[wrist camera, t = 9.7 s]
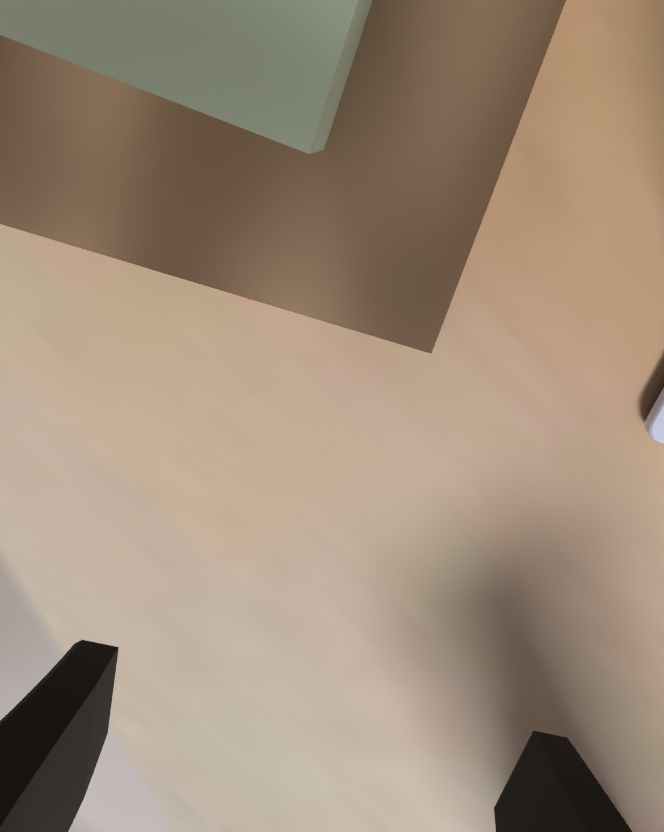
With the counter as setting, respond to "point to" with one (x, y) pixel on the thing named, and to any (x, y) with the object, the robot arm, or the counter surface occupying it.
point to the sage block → (211, 54)
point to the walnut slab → (289, 169)
